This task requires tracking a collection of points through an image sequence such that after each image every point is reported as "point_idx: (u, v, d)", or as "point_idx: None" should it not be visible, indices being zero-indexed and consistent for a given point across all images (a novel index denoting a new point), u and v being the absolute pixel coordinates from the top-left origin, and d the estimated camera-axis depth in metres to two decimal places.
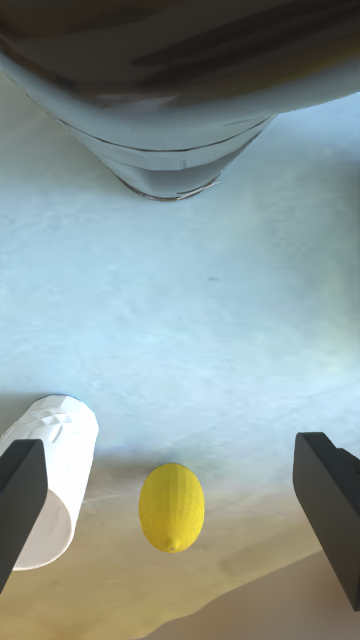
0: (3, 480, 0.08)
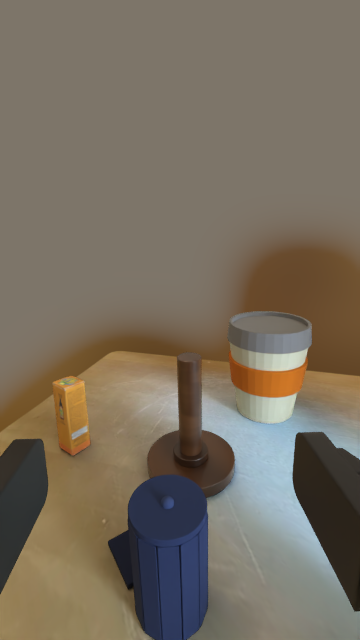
0: (3, 480, 0.08)
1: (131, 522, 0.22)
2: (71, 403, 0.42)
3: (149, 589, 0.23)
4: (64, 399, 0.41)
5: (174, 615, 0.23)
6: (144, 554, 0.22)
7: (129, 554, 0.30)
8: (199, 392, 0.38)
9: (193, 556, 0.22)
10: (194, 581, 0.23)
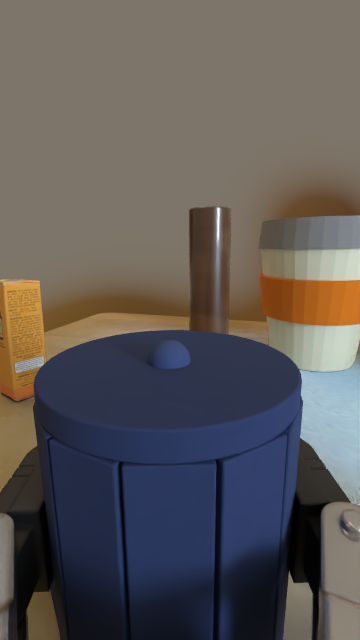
0: None
1: (36, 391, 0.06)
2: (14, 310, 0.26)
3: None
4: (3, 301, 0.25)
5: None
6: (72, 505, 0.06)
7: None
8: (227, 272, 0.22)
9: (265, 524, 0.06)
10: (260, 623, 0.06)
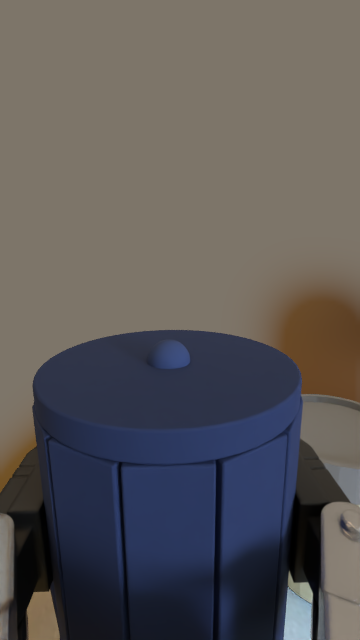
0: None
1: (35, 391, 0.06)
2: None
3: None
4: None
5: None
6: (71, 506, 0.06)
7: None
8: None
9: (265, 525, 0.06)
10: (260, 624, 0.06)
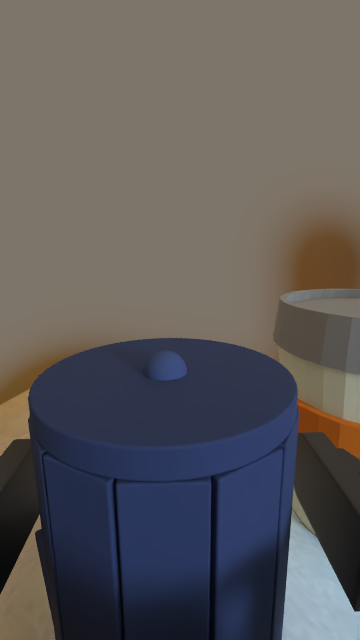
0: (3, 480, 0.08)
1: (31, 404, 0.06)
2: None
3: None
4: None
5: None
6: (67, 521, 0.06)
7: None
8: None
9: (261, 539, 0.06)
10: (257, 638, 0.06)
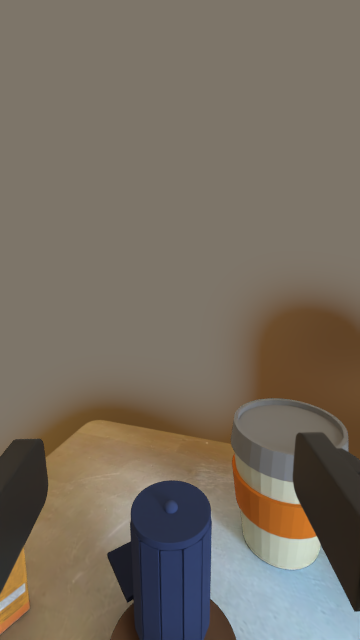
0: (3, 480, 0.08)
1: (134, 525, 0.22)
2: None
3: (150, 598, 0.22)
4: None
5: (175, 628, 0.22)
6: (146, 558, 0.22)
7: (129, 567, 0.29)
8: None
9: (196, 563, 0.22)
10: (196, 590, 0.22)
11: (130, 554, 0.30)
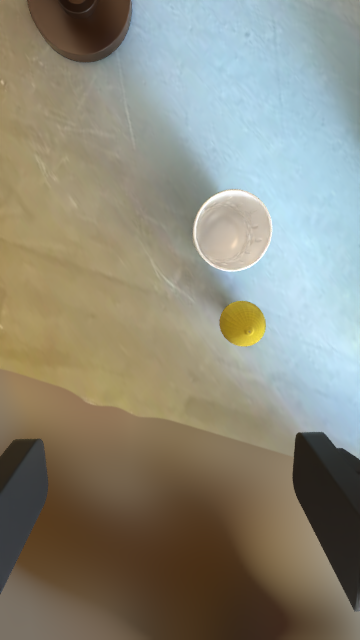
0: (3, 480, 0.08)
1: None
2: None
3: None
4: None
5: None
6: None
7: None
8: None
9: None
10: None
11: None
